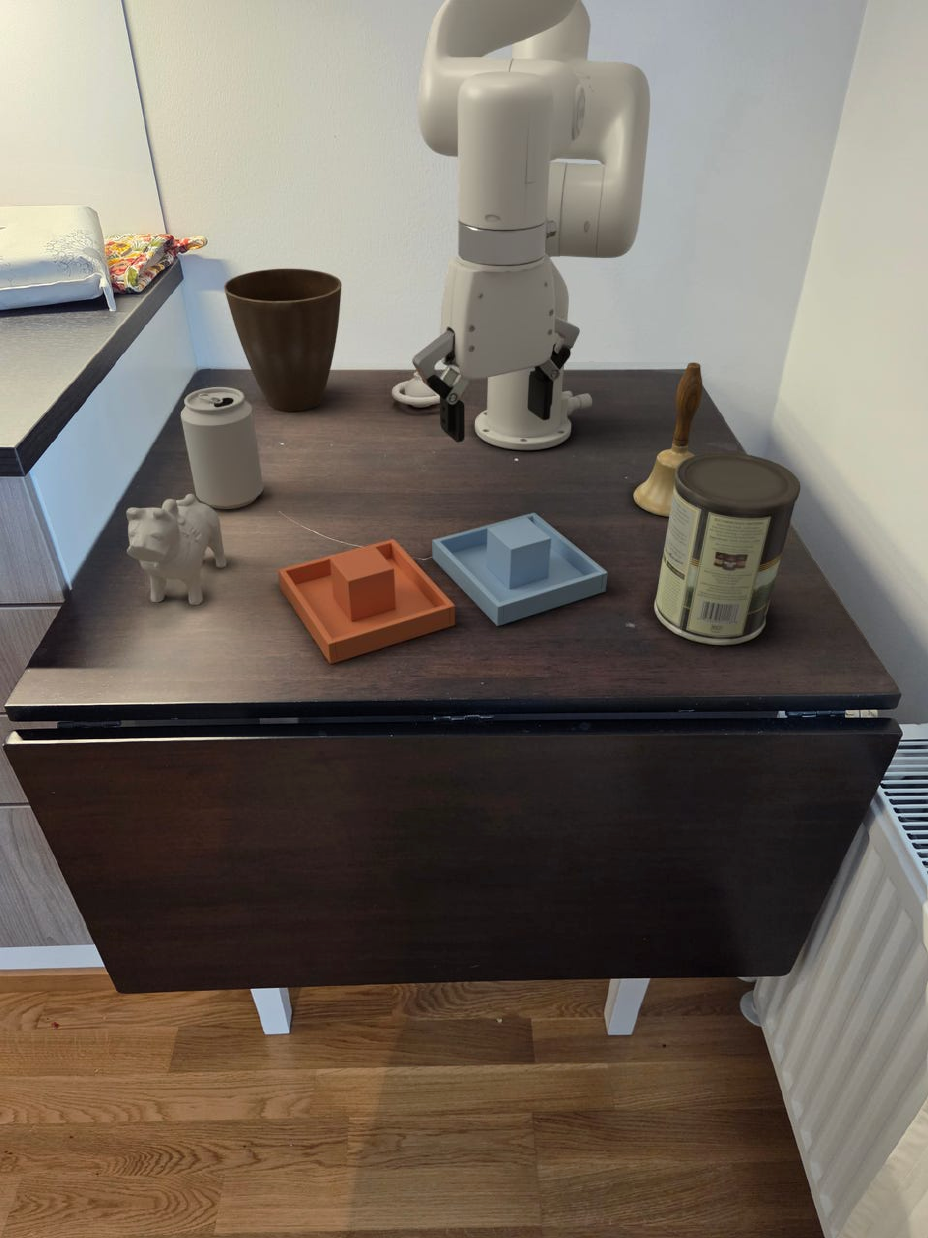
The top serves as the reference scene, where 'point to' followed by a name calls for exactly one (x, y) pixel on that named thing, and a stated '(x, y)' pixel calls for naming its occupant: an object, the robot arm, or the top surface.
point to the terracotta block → (363, 583)
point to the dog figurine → (175, 543)
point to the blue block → (518, 552)
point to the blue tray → (502, 605)
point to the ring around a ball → (415, 393)
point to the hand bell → (661, 481)
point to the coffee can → (724, 546)
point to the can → (222, 447)
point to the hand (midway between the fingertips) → (496, 425)
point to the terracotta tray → (344, 639)
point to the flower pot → (287, 331)
